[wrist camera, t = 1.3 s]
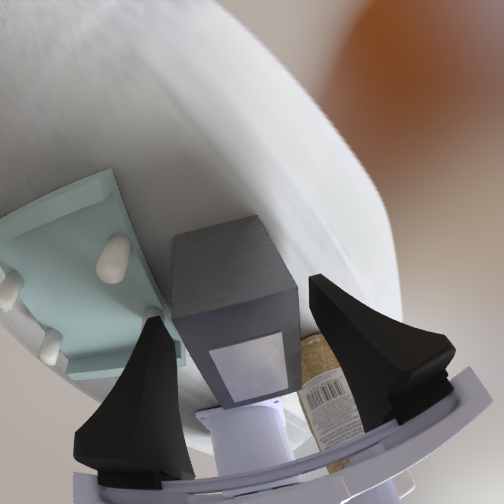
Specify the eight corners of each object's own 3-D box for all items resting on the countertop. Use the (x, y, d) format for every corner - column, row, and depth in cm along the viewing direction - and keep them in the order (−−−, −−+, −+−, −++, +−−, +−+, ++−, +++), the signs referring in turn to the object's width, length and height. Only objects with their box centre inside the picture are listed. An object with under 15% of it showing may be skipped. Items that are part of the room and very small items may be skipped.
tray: (184, 339, 16) (186, 376, 14) (77, 358, 15) (70, 390, 13) (111, 167, 10) (90, 187, 8) (-10, 224, 9) (-36, 251, 7)
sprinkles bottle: (288, 374, 21) (344, 519, 10) (277, 345, 18) (346, 525, 7) (339, 353, 21) (408, 489, 10) (337, 321, 18) (427, 485, 7)
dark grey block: (273, 316, 17) (302, 390, 12) (210, 332, 16) (224, 411, 12) (256, 214, 13) (298, 288, 8) (174, 235, 12) (171, 321, 8)
